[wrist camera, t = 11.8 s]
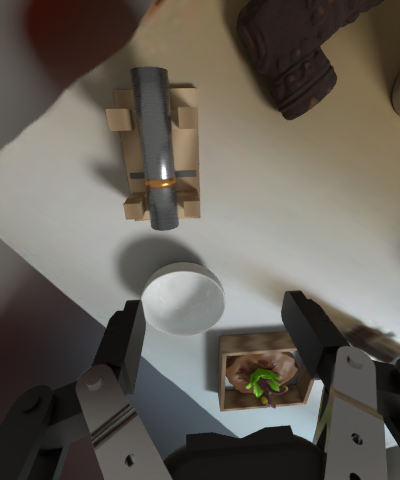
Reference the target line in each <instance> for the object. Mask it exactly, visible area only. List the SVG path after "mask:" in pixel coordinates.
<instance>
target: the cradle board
mask: <svg viewBox="0 0 400 480" xmlns="http://www.w3.org/2000/svg"><path fill="white" fill-rule="evenodd" d="M113 94H114V100H115V106H116V109H106V115H107V120H108V125H109V131H120V136H121V142H122V148H123V153H124V159H125V165H126V171H127V177H128V183H129V189H130V196H129V198H128V199H127V200H126V201H125V203H124V204H123V206H124V211H125V216H126V220H127V219H135V221H140V220H150V214H149V207H148V199H147V192H146V186H145V179H144V169H143V162H142V154H141V147H140V139H139V132H138V125H137V117H136V110H135V102H134V95H133V89H117V90H113ZM169 97H170V110H171V124H172V138H173V152H174V166H175V176H176V194H177V207H178V219H185V218H200V183H199V141H198V100H197V88H174V89H169Z"/></svg>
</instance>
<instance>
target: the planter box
mask: <svg viewBox="0 0 400 480" xmlns="http://www.w3.org/2000/svg"><path fill="white" fill-rule="evenodd" d="M289 351H297V349H296V347H295V345H294V343H293V341H292V339H291V337H290V335H289V333H288V331H286V332H272V333H258V334H243V335H229V336H219V373H218V397H219V405H220V411H232V410H244V409H255V408H267V406H265V405H264V403H263V402H262V400H261V399H262V397H266V396H265V394H264V393H263V394H261V396H260V397H258V398H257V397H256V395H251V393H241V392H240V391H239V390H228V391H225V375H226V356H236V355H249V354H263V353H276V352H289ZM313 383H314V380H312V378H311V377H310V375H309V373H308V371H307V369H306V367H305V365H304V363H303V362H302V365H301V369H300V372H299V375H298V379H297V382H296V385H289V386H287V387H288V390H287V391H286V392H284V393H282V394H274V393H273V392H271V394H269V395H270V398H271V400H272V402H274V403H275V404H276V407H279V406H290V405H302V404H306V403H307V400H308V397H309V394H310V391H311V389H312V386H313ZM282 387H283V386H280V387H278V388H279V391H282ZM269 407H272V406H271V403H270V406H269Z"/></svg>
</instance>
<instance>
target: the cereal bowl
mask: <svg viewBox="0 0 400 480" xmlns="http://www.w3.org/2000/svg"><path fill="white" fill-rule="evenodd" d="M140 300H142V304H143V309H144V315H145V320H146V321H147V322H148V323H149V324H150V325H151V326H152V327H154V328H155V329H157V330H158V331H160V332H163V333H165V334H169V335H174V336H191V335H196V334H200V333H203V332H205V331H207V330H209V329H210V328H212V327H213V326H215V325H216V324H217V323H218V322H219V320H220V319H221V318H222V316H223V314H224V311H225V306H226V300H225V294H224V290H223V287H222V285H221V283H220V281H219V280H218V278H217V277H216V276H215V275H214V274H213V273H212V272H211V271H210V270H208V269H207V268H205V267H203V266H201V265H199V264H194V263H189V262H178V263H173V264H169V265H166V266H164V267H162V268H160V269H159V270H157V271H156V272H155V273H154V274H153V275H152V276H151V277H150V278H149V279H148V281H147V282H146V284H145V286H144V288H143V291H142V294H141V298H140Z"/></svg>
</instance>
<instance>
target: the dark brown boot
mask: <svg viewBox="0 0 400 480" xmlns="http://www.w3.org/2000/svg"><path fill="white" fill-rule="evenodd" d="M383 1H384V0H250V2H249V3H248V4H247V5H246V6H245V7H244V8H243V9H242V10H241V11H240V14H239V17H238V20H237V32H238V34H239V36H240V38H241V40H242V42H243V44H244V46H245V49H246V51H247V53H248V55H249V57H250V59H251V62H252V64H253V66H254V69H255V70H256V71H257V72H258V73H260V74H263V75H265V77H266V79H267V80H268V82H269V88H270V89H271V94H272V96H273V98H275V100H276V105H277V107H279V109H278V110H279V111H280V112H281V113H282V115H283V117H284V118H285V119H287V120H293V119H295V118H297V117H299V116H300V115H302V114H304V113H306V112H307V111H308V110H310V109H311V108H312V107H314V106H315V105H316V104H318V103H319V102H320V101H321V100H322V99H323V98H324V97H325V96H326V95H327V94H328V93H329V92H330V91H331V90H332V89H333V87H334V86H335V84H336V81H337V75H336V74H335V72H334V68H333V66H331V65H330V61H329V60H328V59H327V58H326V56H325V54H324V53H323V51H322V50H321V47H320V46H321V45H322V44H323V43H324V42H325V41H326V40H328V39H329V38H330V37H331V36H332V35H333V34H334V33H335V32H336V31H337V30H338V29H339V28H340V27H344V26H346V25H347V24H350V23H352V22H354V21H355V20H356V19H357V18H358V16H359V14H360V13H363V12H366V11H368V10H369V9H371V8H372V7H374V6H377V5H379V4H380V3H381V2H383Z"/></svg>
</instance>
